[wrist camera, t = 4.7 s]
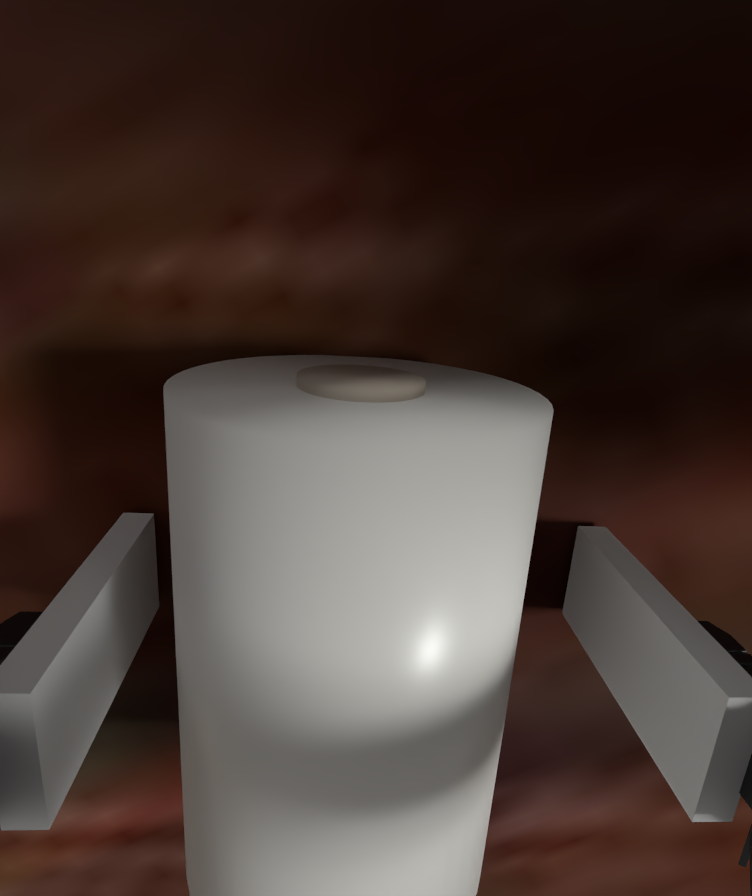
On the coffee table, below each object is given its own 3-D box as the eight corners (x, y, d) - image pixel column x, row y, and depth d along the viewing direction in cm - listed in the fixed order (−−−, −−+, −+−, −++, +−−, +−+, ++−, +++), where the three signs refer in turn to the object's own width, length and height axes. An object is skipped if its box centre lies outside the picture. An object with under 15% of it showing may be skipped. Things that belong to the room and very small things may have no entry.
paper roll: (246, 337, 15) (69, 400, 8) (533, 362, 14) (591, 452, 7) (247, 712, 18) (125, 965, 12) (478, 748, 18) (484, 1043, 11)
